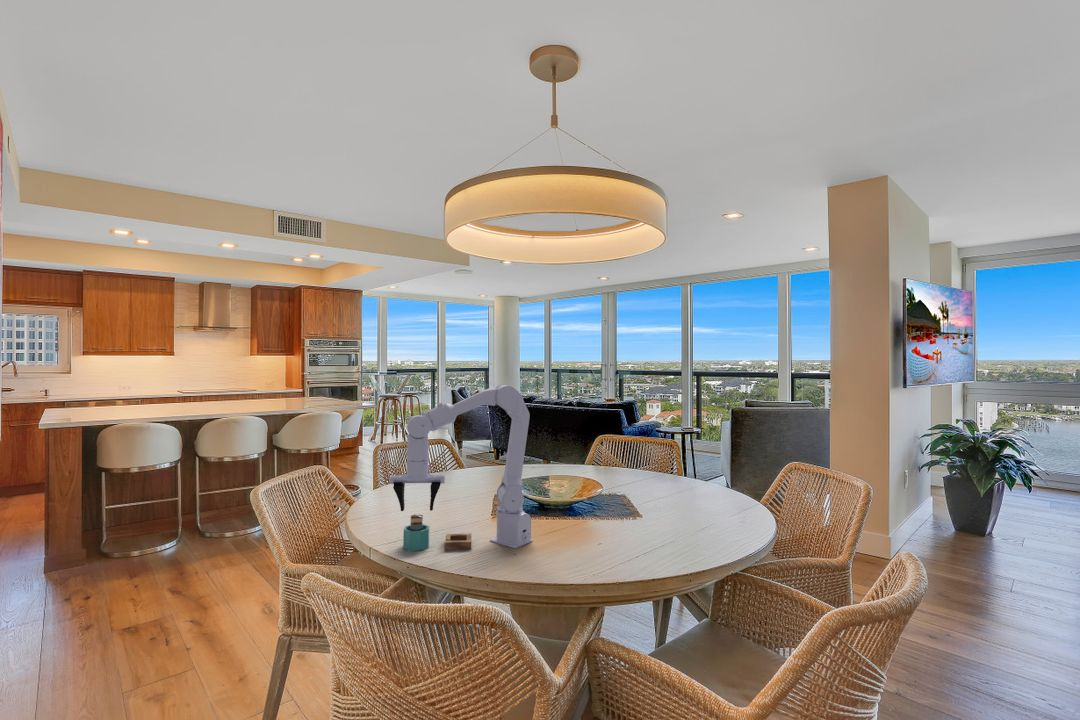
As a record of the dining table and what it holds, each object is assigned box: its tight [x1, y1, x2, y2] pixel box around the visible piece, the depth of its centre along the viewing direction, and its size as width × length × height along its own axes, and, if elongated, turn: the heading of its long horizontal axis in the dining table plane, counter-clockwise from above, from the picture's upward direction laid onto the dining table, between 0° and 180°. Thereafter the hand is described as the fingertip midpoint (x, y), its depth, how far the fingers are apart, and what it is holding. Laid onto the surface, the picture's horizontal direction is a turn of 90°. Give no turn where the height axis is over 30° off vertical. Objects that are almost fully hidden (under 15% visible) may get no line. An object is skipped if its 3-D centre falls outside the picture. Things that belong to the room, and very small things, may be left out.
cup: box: [402, 523, 430, 552], centre depth 146 cm, size 7×7×5 cm
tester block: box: [444, 533, 472, 551], centre depth 147 cm, size 7×7×2 cm
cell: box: [410, 513, 424, 531], centre depth 146 cm, size 3×3×8 cm
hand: (417, 509), depth 146 cm, fingers open, 7 cm apart
